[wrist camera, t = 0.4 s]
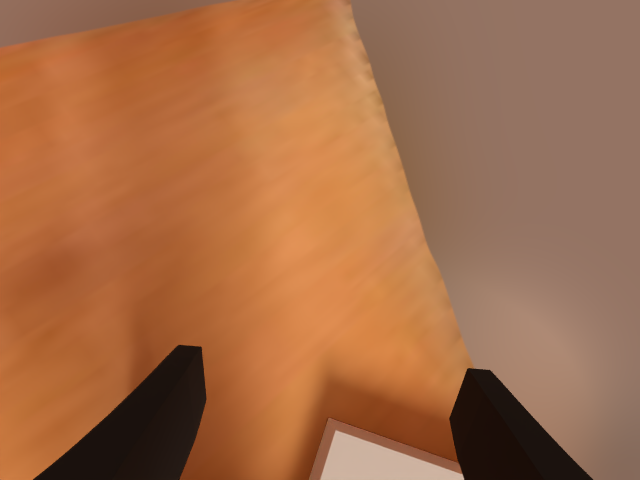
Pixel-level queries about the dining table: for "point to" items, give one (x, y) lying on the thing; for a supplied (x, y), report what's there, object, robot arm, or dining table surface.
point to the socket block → (375, 458)
